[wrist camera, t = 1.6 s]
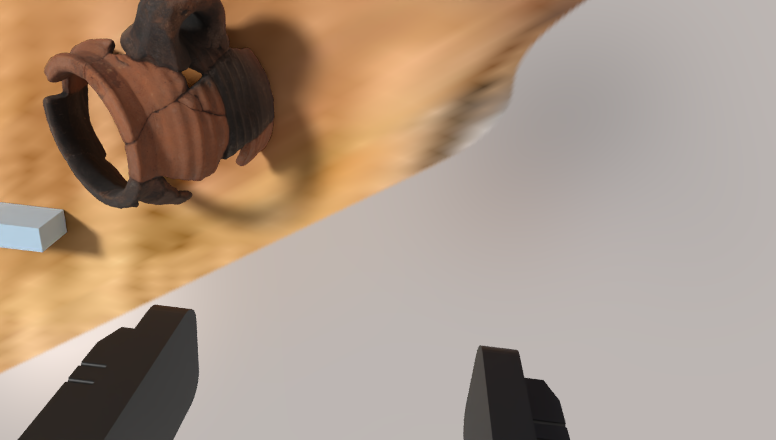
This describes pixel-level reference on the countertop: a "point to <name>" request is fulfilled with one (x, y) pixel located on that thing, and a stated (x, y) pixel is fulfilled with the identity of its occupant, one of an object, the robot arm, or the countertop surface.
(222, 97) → the pottery mug
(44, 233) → the collar
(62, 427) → the robot arm
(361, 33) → the countertop surface
